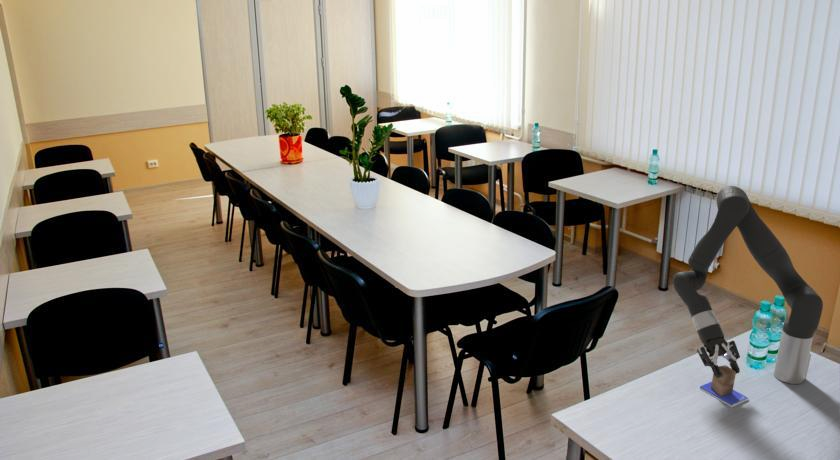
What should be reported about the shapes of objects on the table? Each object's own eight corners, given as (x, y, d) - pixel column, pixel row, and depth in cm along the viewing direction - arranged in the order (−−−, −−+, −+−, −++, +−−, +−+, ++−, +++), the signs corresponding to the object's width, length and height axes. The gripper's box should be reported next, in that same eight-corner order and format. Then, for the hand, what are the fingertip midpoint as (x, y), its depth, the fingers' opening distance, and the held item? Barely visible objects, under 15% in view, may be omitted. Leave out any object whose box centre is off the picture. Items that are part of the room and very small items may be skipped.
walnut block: (721, 386, 230) (725, 365, 227) (732, 393, 226) (736, 371, 223) (710, 388, 228) (714, 367, 226) (720, 395, 224) (724, 374, 222)
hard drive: (748, 397, 224) (716, 379, 234) (732, 404, 220) (700, 386, 230) (747, 401, 224) (715, 383, 234) (731, 408, 220) (699, 390, 230)
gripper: (696, 326, 224) (717, 376, 218) (731, 319, 229) (753, 368, 222) (683, 333, 231) (703, 382, 224) (717, 326, 235) (738, 374, 229)
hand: (728, 375), depth 223 cm, fingers open, 6 cm apart
